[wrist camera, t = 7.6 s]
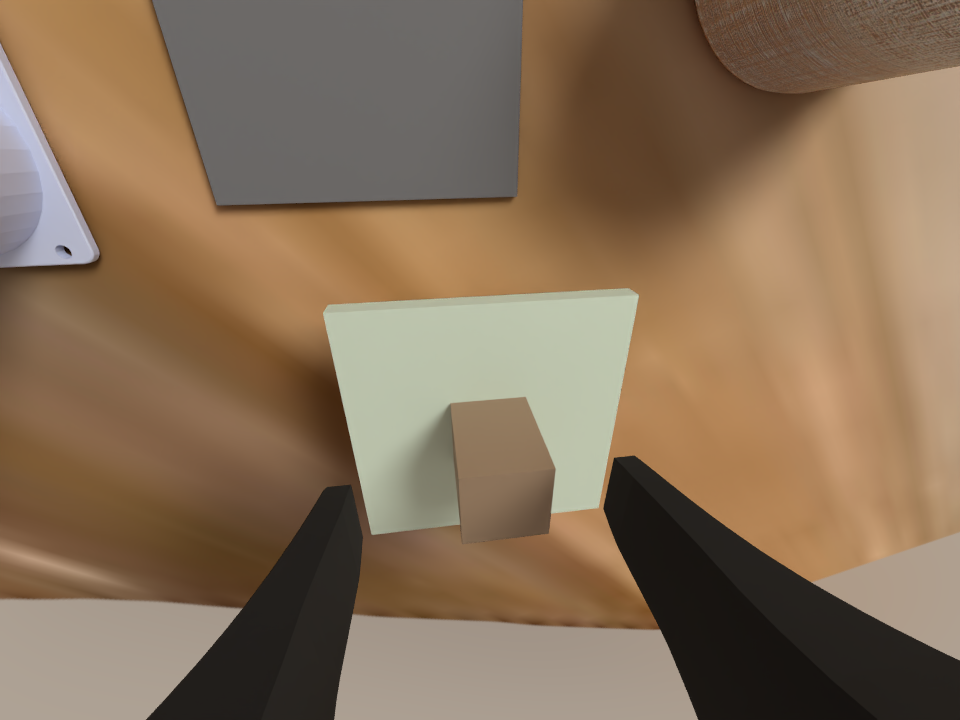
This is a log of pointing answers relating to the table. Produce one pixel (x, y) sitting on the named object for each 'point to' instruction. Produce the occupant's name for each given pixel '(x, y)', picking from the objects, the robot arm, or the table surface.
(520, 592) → the table surface
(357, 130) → the mat
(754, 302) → the table surface
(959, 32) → the planter
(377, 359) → the lid
